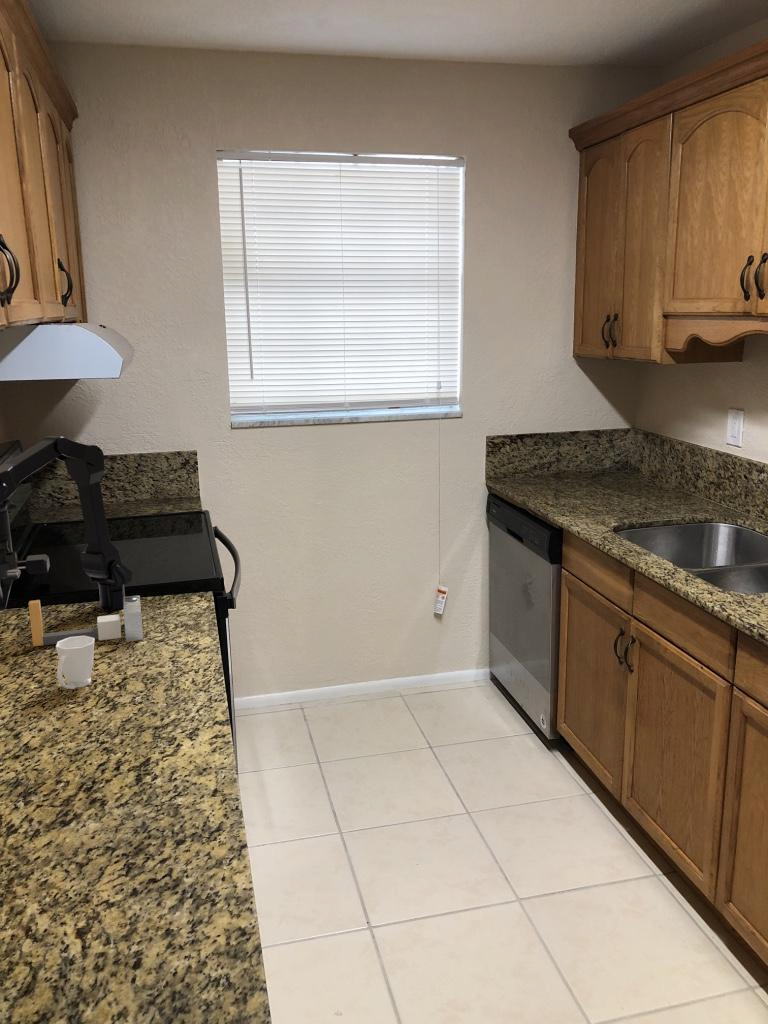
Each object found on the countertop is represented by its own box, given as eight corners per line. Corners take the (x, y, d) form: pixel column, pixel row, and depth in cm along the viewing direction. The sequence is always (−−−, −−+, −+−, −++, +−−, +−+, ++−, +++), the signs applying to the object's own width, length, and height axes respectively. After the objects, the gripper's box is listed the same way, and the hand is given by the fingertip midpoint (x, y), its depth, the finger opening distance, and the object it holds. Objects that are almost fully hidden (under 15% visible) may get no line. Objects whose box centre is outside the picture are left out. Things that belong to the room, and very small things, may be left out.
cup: (105, 676, 156) (102, 635, 154) (80, 698, 146) (75, 655, 145) (71, 674, 157) (67, 634, 155) (43, 696, 147) (38, 654, 146)
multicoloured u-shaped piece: (32, 648, 171) (28, 605, 169) (34, 641, 174) (30, 599, 172) (121, 637, 176) (117, 596, 174) (121, 631, 179) (117, 590, 178)
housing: (126, 641, 174) (123, 612, 173) (125, 623, 185) (123, 596, 184) (143, 639, 175) (140, 610, 174) (141, 621, 186) (139, 594, 185)
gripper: (-65, 547, 156) (-55, 626, 159) (41, 539, 161) (49, 615, 165) (-54, 535, 166) (-44, 608, 170) (45, 527, 172) (53, 598, 175)
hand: (3, 608), depth 169 cm, fingers closed
